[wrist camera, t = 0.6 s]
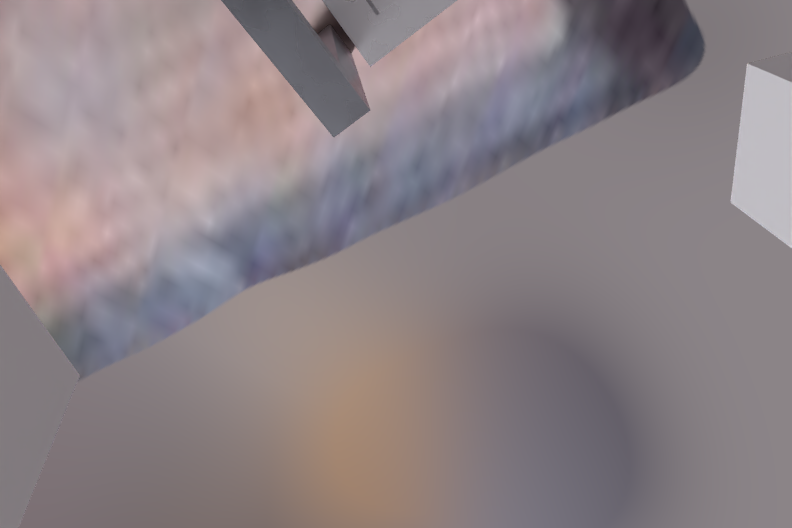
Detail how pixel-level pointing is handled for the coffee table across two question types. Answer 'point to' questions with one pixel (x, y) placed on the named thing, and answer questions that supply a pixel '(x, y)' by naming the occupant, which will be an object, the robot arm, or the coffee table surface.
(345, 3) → the flange plate
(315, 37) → the dividers beam
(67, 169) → the coffee table surface
